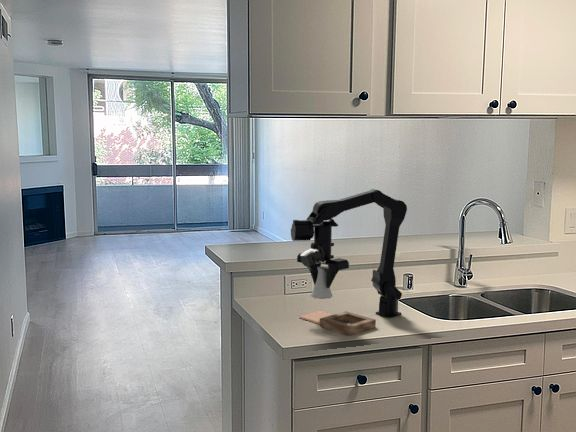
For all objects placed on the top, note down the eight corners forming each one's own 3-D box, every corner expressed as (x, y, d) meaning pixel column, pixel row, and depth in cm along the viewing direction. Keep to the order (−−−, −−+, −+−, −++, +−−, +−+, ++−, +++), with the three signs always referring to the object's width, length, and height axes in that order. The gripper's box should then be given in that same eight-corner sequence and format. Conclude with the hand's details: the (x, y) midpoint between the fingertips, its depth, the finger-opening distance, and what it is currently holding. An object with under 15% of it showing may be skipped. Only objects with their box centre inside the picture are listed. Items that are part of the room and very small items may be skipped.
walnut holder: (346, 318, 205) (346, 311, 204) (375, 327, 196) (375, 319, 195) (319, 326, 196) (319, 318, 196) (349, 335, 187) (349, 327, 187)
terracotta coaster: (320, 312, 212) (320, 310, 212) (341, 318, 204) (341, 317, 204) (299, 317, 205) (299, 316, 205) (320, 324, 198) (320, 322, 198)
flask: (331, 294, 207) (331, 265, 206) (333, 299, 200) (334, 269, 199) (309, 294, 207) (310, 265, 205) (311, 299, 200) (312, 269, 198)
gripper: (285, 239, 202) (285, 285, 204) (326, 246, 189) (325, 296, 191) (309, 235, 210) (308, 280, 212) (350, 242, 196) (349, 290, 198)
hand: (321, 286), depth 203 cm, fingers closed on flask, 5 cm apart
